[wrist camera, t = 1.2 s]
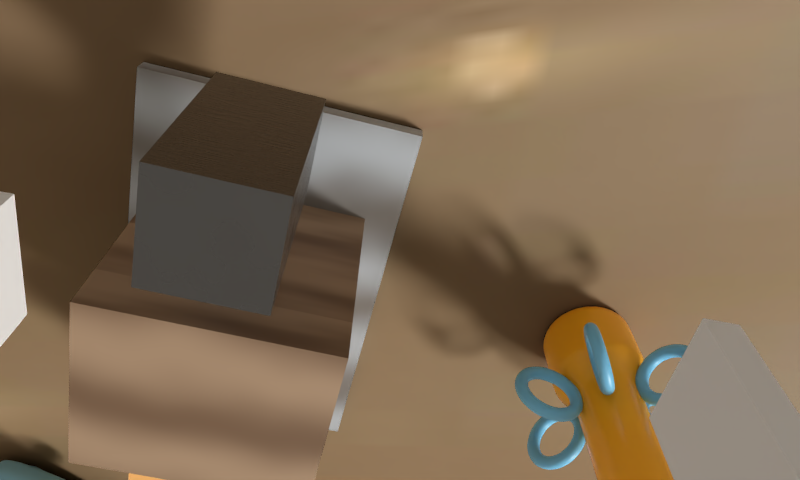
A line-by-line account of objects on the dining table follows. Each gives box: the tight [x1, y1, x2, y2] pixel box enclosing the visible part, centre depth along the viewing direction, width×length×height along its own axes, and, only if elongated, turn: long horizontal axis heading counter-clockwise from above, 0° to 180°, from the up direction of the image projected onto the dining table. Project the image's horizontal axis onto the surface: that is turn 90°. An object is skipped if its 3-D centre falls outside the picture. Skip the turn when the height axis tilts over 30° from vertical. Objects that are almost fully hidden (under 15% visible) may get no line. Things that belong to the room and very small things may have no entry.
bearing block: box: [68, 62, 423, 480], centre depth 38 cm, size 24×16×14 cm, turn 166°
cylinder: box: [515, 306, 688, 480], centre depth 40 cm, size 12×10×15 cm
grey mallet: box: [131, 72, 326, 316], centre depth 32 cm, size 26×5×10 cm, turn 166°
